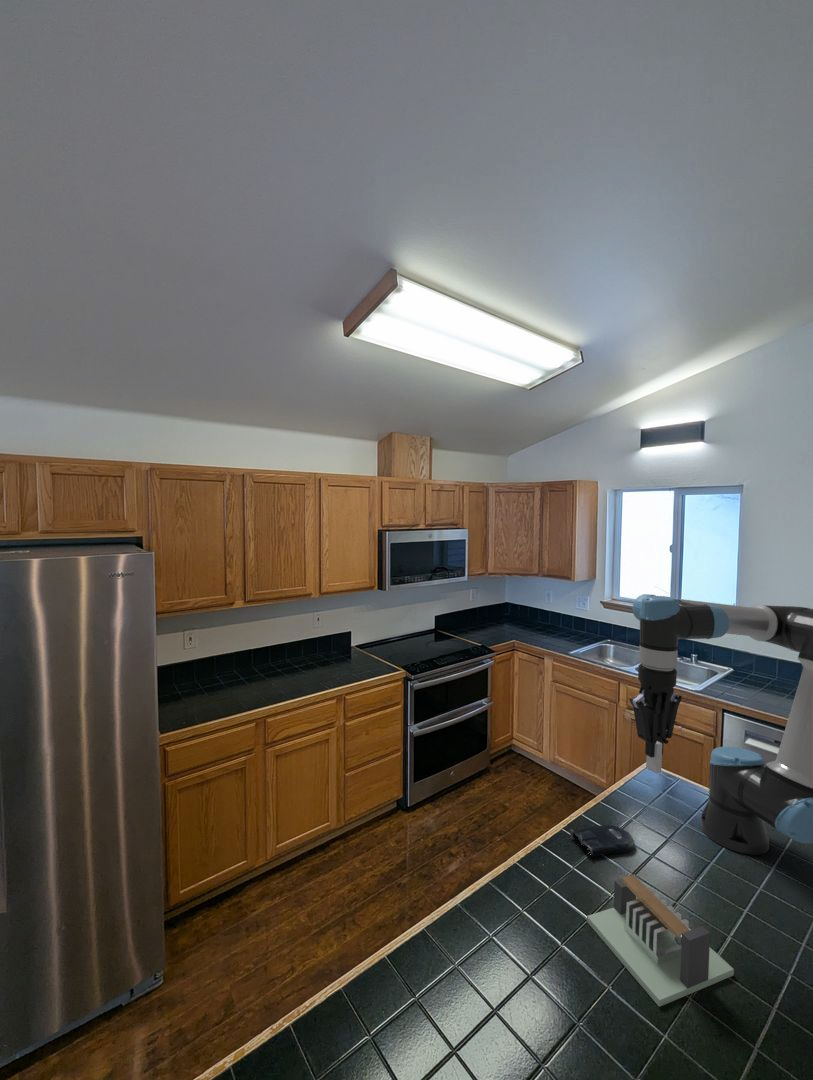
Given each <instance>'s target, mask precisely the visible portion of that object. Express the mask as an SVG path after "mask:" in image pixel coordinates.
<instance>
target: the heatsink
mask: <svg viewBox="0 0 813 1080" xmlns="http://www.w3.org/2000/svg"><path fill="white" fill-rule="evenodd" d="M653 894H654V895H655V896H656V897H657V898H658V899H659V900H660V901H661V902H662V903H663V904H664V905H665V906H666V907H667V908H668V909H669V910H670V911H671V912H672V913H673V914H674V915H675V916H676V917H677V918H678V919H679V920H680V921H681V922H682V923H683V924H684V925H685V926H686V927H687V928H688V929H689V928H690V927H689V926H690V925H689V924H690V921H689V920H688V919H686V918H685V919H682V914H681V913H680V912H679V911H677V912H675V910H674V909H675V907H674V906H672V905H668V904H667V903H668V902H667V901H666V899H664V898H662V899H661V895H660V894H659V893H658V892H656V893H653ZM624 930H625V931H626V932H627V933H628V934H629V935H630V936H631V937H632V938H633V939H634V941H635V942H636V943H637V944H638V945H639V946H640V947H641V948H642V949H643V950H644V951H645V952H646V954H647V955H648V956H649V957H650V958H651V959H652V960H653V961H654V962H655V963H656V964H657V965H660V964H662V963H665V962H667V961H670V960H673V959H675V958H678V957H680V956H681V945H678V944H677V943H676V941H675V936H674V935H673V934H672V933H671V932H670V931H669V930H668V929H667V927H666V926H665V925H664V924H663V923H662V922H661V921H660V920H659V919H658V918H657V917H656V916H655V915H654V914H653V913H652V912H651V911H650V910H649V909H648V908H647V907H646V906H645V905H644V904H643V903H642V902H641V901H640V900H639V899H638V898H636V900H633V901H630V902H627V906H626V922H625V923H624Z"/></svg>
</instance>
